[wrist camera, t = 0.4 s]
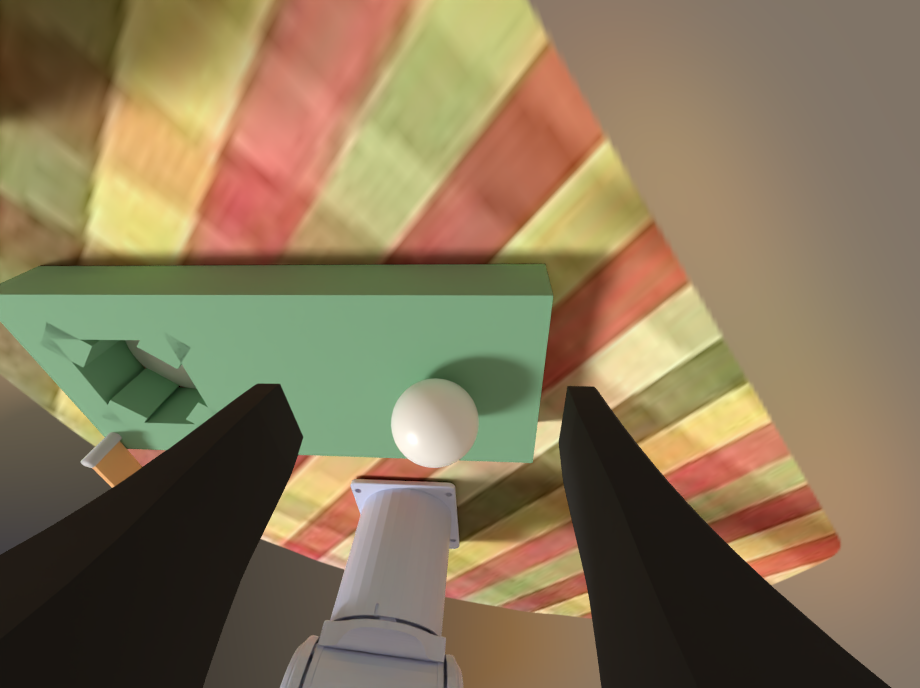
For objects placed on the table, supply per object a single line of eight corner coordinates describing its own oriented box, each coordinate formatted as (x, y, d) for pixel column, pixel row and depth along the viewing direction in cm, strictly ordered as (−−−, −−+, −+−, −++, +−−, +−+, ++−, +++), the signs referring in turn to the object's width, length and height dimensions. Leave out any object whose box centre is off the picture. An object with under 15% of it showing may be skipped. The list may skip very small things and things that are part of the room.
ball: (480, 420, 20) (477, 488, 17) (405, 418, 20) (389, 484, 17) (479, 361, 18) (476, 427, 15) (395, 360, 18) (374, 424, 15)
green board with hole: (526, 444, 26) (532, 515, 22) (164, 433, 28) (108, 496, 24) (545, 263, 18) (560, 322, 14) (38, 266, 20) (-76, 318, 16)
